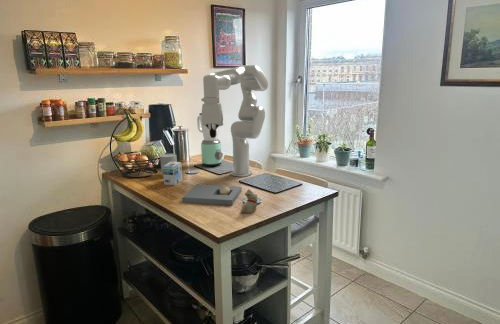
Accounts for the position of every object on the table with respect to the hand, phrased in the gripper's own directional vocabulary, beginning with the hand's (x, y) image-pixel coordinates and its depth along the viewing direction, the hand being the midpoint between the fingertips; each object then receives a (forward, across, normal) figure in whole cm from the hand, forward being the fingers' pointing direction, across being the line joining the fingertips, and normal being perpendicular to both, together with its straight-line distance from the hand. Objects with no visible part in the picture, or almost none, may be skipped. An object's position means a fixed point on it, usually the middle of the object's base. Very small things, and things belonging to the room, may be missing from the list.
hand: (213, 137), depth 176 cm
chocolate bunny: (+27, +24, -28) cm, 46 cm away
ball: (+25, +9, -12) cm, 29 cm away
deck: (+27, +3, -13) cm, 30 cm away
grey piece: (+27, -34, +19) cm, 48 cm away
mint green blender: (+27, -17, +47) cm, 57 cm away
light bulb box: (+27, -26, +6) cm, 38 cm away
